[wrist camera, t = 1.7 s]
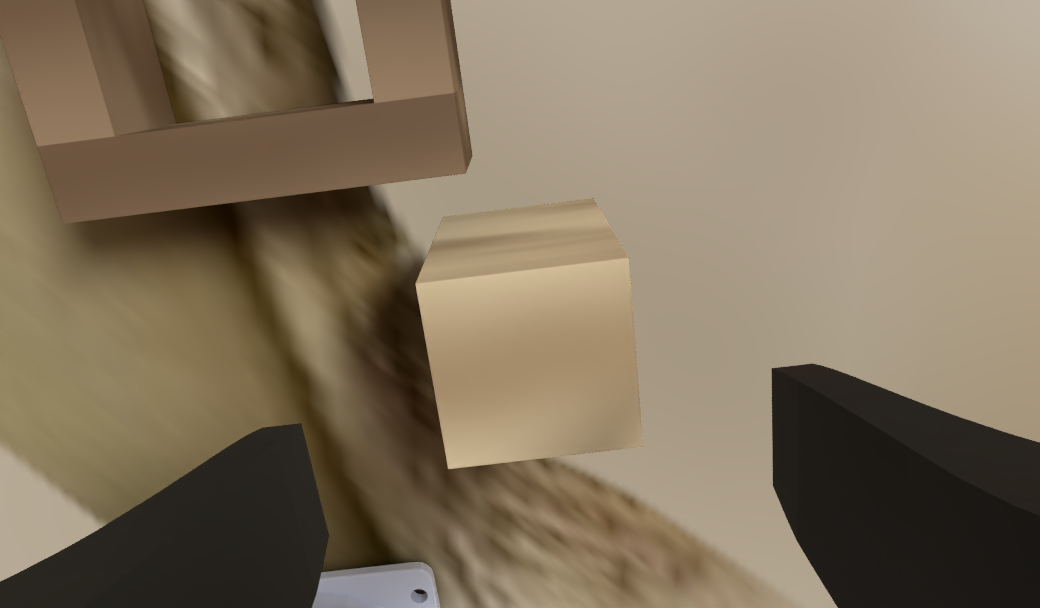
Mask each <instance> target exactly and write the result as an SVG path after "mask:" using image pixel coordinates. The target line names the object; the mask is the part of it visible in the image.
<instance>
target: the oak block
mask: <svg viewBox="0 0 1040 608" xmlns="http://www.w3.org/2000/svg"><path fill="white" fill-rule="evenodd" d="M416 290H417V295H418V301H419V306H420V312H421V318H422V323H423V329H424V335H425V340H426V346H427V352H428V357H429V363H430V369H431V374H432V380H433V386H434V391H435V397H436V402H437V408H438V414H439V419H440V425H441V431H442V436H443V442H444V448H445V453H446V459H447V465H448V469H454V468H462V467H471V466H480V465H488V464H497V463H506V462H515V461H523V460H532V459H541V458H549V457H558V456H567V455H576V454H584V453H593V452H602V451H610V450H619V449H628V448H636V447H643V439H642V425H641V412H640V399H639V386H638V373H637V360H636V347H635V334H634V321H633V309H632V295H631V282H630V269H629V258H628V256H627V254H626V252H625V251H624V249H623V248H622V246H621V244H620V242H619V241H618V239H617V237H616V236H615V234H614V232H613V231H612V229H611V228H610V225H609V224H608V222H607V220H606V219H605V217H604V215H603V214H602V212H601V210H600V209H599V207H598V205H597V204H596V202H595V200H594V199H593V198H591V199H583V200H575V201H567V202H559V203H551V204H543V205H535V206H527V207H519V208H511V209H503V210H495V211H486V212H479V213H471V214H462V215H454V216H447V217H443V219H442V221H441V224H440V226H439V228H438V231H437V233H436V235H435V238H434V240H433V243H432V245H431V248H430V250H429V252H428V255H427V257H426V260H425V262H424V264H423V267H422V269H421V272H420V274H419V277H418V279H417V281H416Z"/></svg>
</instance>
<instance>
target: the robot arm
mask: <svg viewBox="0 0 1040 608" xmlns="http://www.w3.org/2000/svg"><path fill="white" fill-rule="evenodd" d="M772 428H773V429H772V431H773V434H772V435H773V486H774V489H775V492H776V494H777V496H778V499H779V501H780V503H781V506H782V508H783V511H784V513H785V515H786V517H787V520H788V522H789V524H790V526H791V529H792V531H793V533H794V535H795V537H796V540H797V542H798V543H799V545H800V547H801V548H802V550H803V552H804V553H805V555H806V557H807V558H808V560H809V561H810V563H811V565H812V567H813V568H814V570H815V571H816V573H817V575H818V576H819V578H820V580H821V581H822V583H823V585H824V586H825V588H826V589H827V591H828V592H829V594H830V596H831V597H832V599H833V601H834V602H835V604H836V605H837V607H838V608H1040V443H1039V442H1035V441H1032V440H1029V439H1025V438H1022V437H1018V436H1015V435H1012V434H1008V433H1005V432H1002V431H999V430H996V429H993V428H990V427H987V426H984V425H981V424H978V423H975V422H972V421H969V420H966V419H963V418H960V417H958V416H955V415H952V414H949V413H947V412H944V411H941V410H938V409H936V408H933V407H930V406H927V405H925V404H922V403H919V402H917V401H914V400H912V399H909V398H907V397H904V396H901V395H899V394H896V393H894V392H891V391H888V390H886V389H883V388H881V387H878V386H876V385H873V384H871V383H868V382H866V381H863V380H860V379H858V378H856V377H853V376H850V375H848V374H845V373H842V372H839V371H837V370H834V369H830V368H827V367H824V366H820V365H816V364H806V365H798V366H789V367H781V368H772ZM328 537H329V534H328V530H327V526H326V522H325V518H324V514H323V510H322V506H321V502H320V498H319V494H318V490H317V486H316V482H315V478H314V474H313V470H312V465H311V461H310V457H309V453H308V449H307V445H306V441H305V437H304V433H303V429H302V425H301V423H300V424H292V425H283V426H274V427H266V428H261V429H259V430H257V431H255V432H252V433H251V434H249V435H247V436H245V437H243V438H242V439H240V440H238V441H237V442H235V443H233V444H232V445H230V446H229V447H227V448H226V449H224V450H222V451H221V452H219V453H218V454H216V455H215V456H213V457H212V458H210V459H209V460H207V461H206V462H204V463H203V464H201V465H200V466H198V467H197V468H195V469H193V470H192V471H190V472H189V473H187V474H186V475H184V476H183V477H181V478H180V479H178V480H177V481H175V482H174V483H172V484H171V485H169V486H168V487H166V488H165V489H163V490H162V491H160V492H159V493H157V494H155V495H154V496H152V497H151V498H149V499H147V500H146V501H144V502H142V503H141V504H139V505H138V506H136V507H134V508H133V509H131V510H129V511H128V512H126V513H125V514H123V515H121V516H120V517H118V518H117V519H115V520H113V521H112V522H110V523H108V524H107V525H105V526H104V527H102V528H100V529H99V530H97V531H95V532H94V533H92V534H90V535H88V536H87V537H85V538H83V539H81V540H80V541H78V542H76V543H74V544H72V545H71V546H69V547H67V548H65V549H63V550H62V551H60V552H58V553H56V554H54V555H52V556H50V557H48V558H47V559H44V560H42V561H40V562H39V563H37V564H35V565H33V566H31V567H29V568H27V569H25V570H23V571H21V572H19V573H17V574H15V575H13V576H11V577H9V578H7V579H5V580H3V581H1V582H0V608H440V603H439V598H438V593H437V588H436V583H435V578H434V573H433V571H432V569H431V568H430V567H429V566H428V565H427V564H425V563H422V562H410V563H401V564H392V565H383V566H374V567H365V568H356V569H347V570H338V571H329V572H322V568H323V563H324V558H325V553H326V547H327V542H328ZM416 589H422V590H424V591H425V592H426V593H424V594H417V593H416V592H414V591H413V590H416Z"/></svg>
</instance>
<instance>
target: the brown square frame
mask: <svg viewBox="0 0 1040 608" xmlns="http://www.w3.org/2000/svg"><path fill="white" fill-rule="evenodd" d="M356 5H357V10H358V16H359V21H360V26H361V32H362V37H363V43H364V49H365V54H366V60H367V65H368V71H369V76H370V82H371V87H372V93H373V99H368V100H359V101H351V102H344V103H336V104H328V105H320V106H313V107H305V108H297V109H289V110H281V111H274V112H266V113H258V114H250V115H243V116H235V117H227V118H219V119H211V120H204V121H196V122H188V123H180V124H176V122H175V118H174V114H173V111H172V107H171V103H170V100H169V96H168V92H167V88H166V85H165V81H164V77H163V74H162V70H161V66H160V62H159V59H158V55H157V51H156V47H155V44H154V40H153V36H152V33H151V29H150V25H149V21H148V18H147V14H146V10H145V7H144V3H143V0H0V36H1V39H2V42H3V45H4V48H5V51H6V54H7V57H8V60H9V63H10V66H11V69H12V72H13V75H14V78H15V81H16V84H17V87H18V90H19V93H20V96H21V99H22V102H23V105H24V108H25V111H26V114H27V117H28V120H29V123H30V126H31V129H32V132H33V135H34V138H35V141H36V144H37V147H38V150H39V153H40V156H41V159H42V162H43V165H44V168H45V171H46V174H47V177H48V180H49V183H50V186H51V189H52V192H53V195H54V198H55V201H56V204H57V207H58V210H59V213H60V216H61V219H62V222H63V224H66V223H74V222H82V221H90V220H98V219H106V218H114V217H122V216H130V215H138V214H146V213H154V212H162V211H170V210H178V209H186V208H194V207H202V206H210V205H218V204H226V203H234V202H241V201H249V200H257V199H265V198H273V197H281V196H289V195H297V194H305V193H313V192H321V191H329V190H337V189H345V188H353V187H361V186H369V185H377V184H385V183H393V182H401V181H409V180H417V179H425V178H432V177H441V176H449V175H457V174H464V173H466V171H467V169H468V166H469V163H470V161H471V158H472V150H471V143H470V135H469V128H468V121H467V114H466V107H465V100H464V93H463V87H462V80H461V72H460V65H459V58H458V51H457V44H456V37H455V30H454V23H453V16H452V9H451V2H450V0H356Z"/></svg>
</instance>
